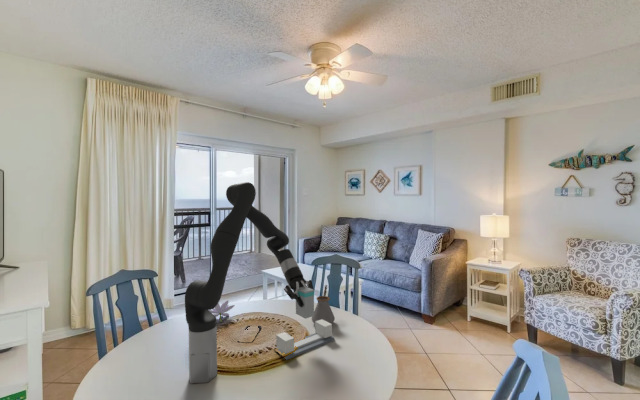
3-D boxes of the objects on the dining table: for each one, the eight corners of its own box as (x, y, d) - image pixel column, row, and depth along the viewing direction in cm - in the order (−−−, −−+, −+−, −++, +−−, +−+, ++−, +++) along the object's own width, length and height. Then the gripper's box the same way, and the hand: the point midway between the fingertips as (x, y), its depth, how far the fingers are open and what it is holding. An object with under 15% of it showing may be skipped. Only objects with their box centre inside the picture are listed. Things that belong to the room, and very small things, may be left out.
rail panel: (285, 360, 114) (285, 342, 114) (274, 350, 121) (274, 334, 121) (334, 340, 129) (334, 324, 129) (321, 332, 136) (321, 318, 136)
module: (305, 318, 121) (305, 292, 121) (295, 313, 126) (295, 288, 126) (314, 315, 124) (314, 289, 124) (304, 310, 129) (304, 285, 129)
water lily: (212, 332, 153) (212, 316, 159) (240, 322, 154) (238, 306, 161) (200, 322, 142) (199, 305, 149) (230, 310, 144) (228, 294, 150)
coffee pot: (333, 329, 140) (333, 298, 140) (309, 328, 141) (309, 297, 141) (337, 312, 161) (336, 284, 161) (316, 311, 162) (316, 284, 162)
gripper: (280, 268, 126) (296, 304, 117) (307, 263, 135) (324, 296, 126) (274, 278, 130) (289, 313, 121) (301, 272, 139) (317, 305, 130)
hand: (307, 304), depth 123 cm, fingers closed on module, 4 cm apart
